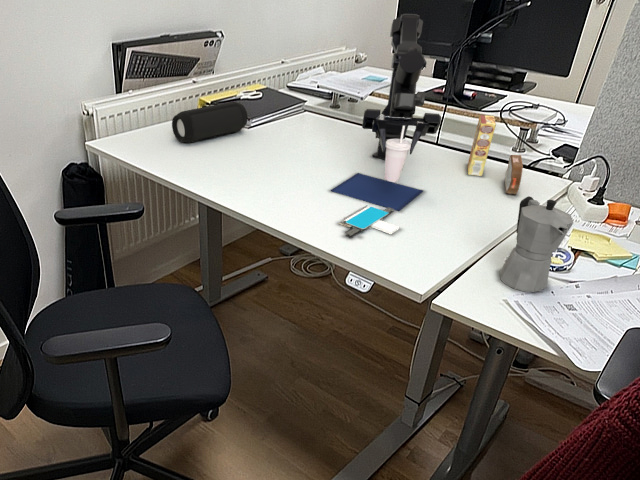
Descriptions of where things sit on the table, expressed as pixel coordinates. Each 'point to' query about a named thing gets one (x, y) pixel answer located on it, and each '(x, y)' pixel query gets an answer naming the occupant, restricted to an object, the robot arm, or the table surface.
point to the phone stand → (368, 221)
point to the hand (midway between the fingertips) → (397, 152)
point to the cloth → (377, 191)
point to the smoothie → (395, 157)
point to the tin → (513, 174)
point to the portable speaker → (209, 122)
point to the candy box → (481, 145)
